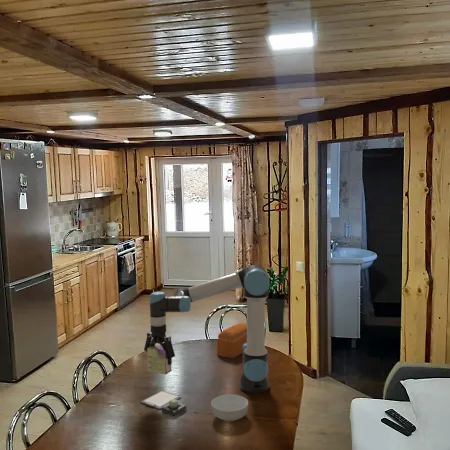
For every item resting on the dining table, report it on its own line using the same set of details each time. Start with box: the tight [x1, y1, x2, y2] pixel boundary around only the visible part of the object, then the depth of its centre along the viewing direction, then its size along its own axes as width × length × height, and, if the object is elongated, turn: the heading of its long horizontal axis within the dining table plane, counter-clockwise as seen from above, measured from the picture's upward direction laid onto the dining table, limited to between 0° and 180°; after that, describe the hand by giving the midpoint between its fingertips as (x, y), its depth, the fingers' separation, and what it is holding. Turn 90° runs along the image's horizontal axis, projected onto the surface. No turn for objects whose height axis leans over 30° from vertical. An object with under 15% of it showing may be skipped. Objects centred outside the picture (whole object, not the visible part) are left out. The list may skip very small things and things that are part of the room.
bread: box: [216, 322, 247, 359], centre depth 303 cm, size 14×26×16 cm, turn 144°
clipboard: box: [140, 390, 182, 411], centre depth 236 cm, size 13×15×1 cm
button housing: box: [161, 402, 187, 418], centre depth 225 cm, size 8×8×2 cm
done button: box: [169, 399, 179, 409], centre depth 224 cm, size 4×4×2 cm
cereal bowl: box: [210, 393, 249, 422], centre depth 218 cm, size 17×17×7 cm
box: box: [146, 344, 172, 376], centre depth 234 cm, size 10×6×12 cm, turn 65°
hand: (159, 368), depth 235 cm, fingers closed on box, 11 cm apart
